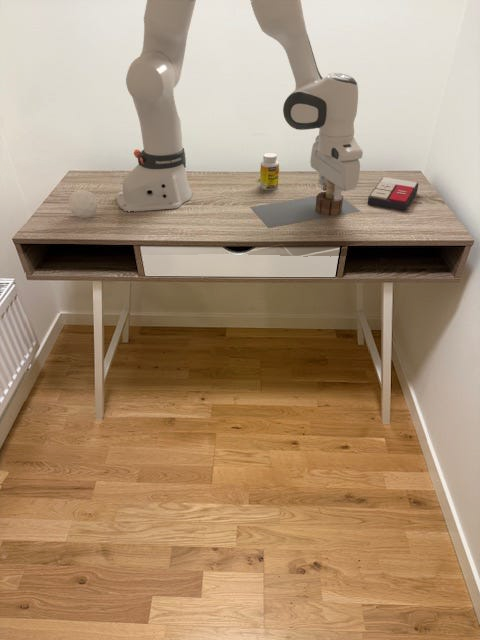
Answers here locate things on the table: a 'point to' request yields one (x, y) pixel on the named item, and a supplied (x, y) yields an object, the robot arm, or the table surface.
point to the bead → (328, 205)
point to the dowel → (329, 189)
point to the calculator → (393, 194)
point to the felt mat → (295, 211)
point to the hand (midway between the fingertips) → (330, 194)
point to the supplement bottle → (269, 172)
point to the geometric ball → (83, 204)
